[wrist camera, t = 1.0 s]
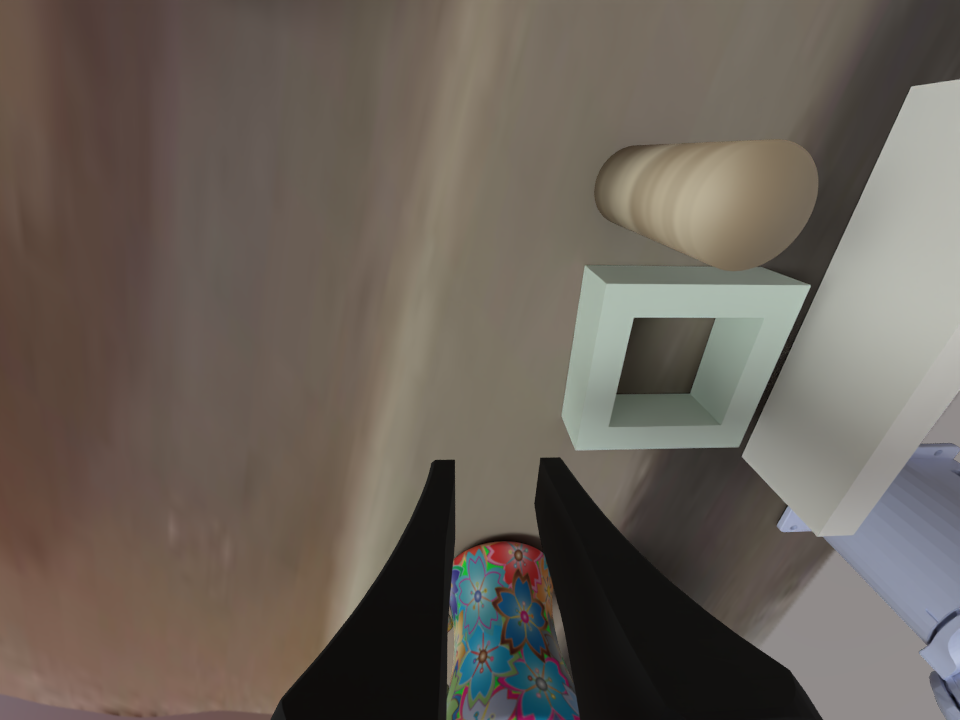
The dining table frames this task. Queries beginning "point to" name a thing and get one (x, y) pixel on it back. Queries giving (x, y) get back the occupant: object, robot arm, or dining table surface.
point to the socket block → (723, 369)
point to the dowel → (712, 197)
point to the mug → (506, 638)
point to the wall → (874, 332)
